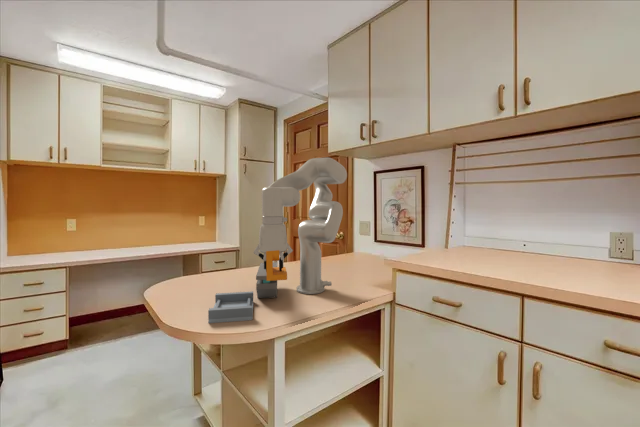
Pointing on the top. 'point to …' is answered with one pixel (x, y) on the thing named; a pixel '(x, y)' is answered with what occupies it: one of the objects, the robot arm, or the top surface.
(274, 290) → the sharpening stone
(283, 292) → the top surface
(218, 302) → the grey tray
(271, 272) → the bracket
